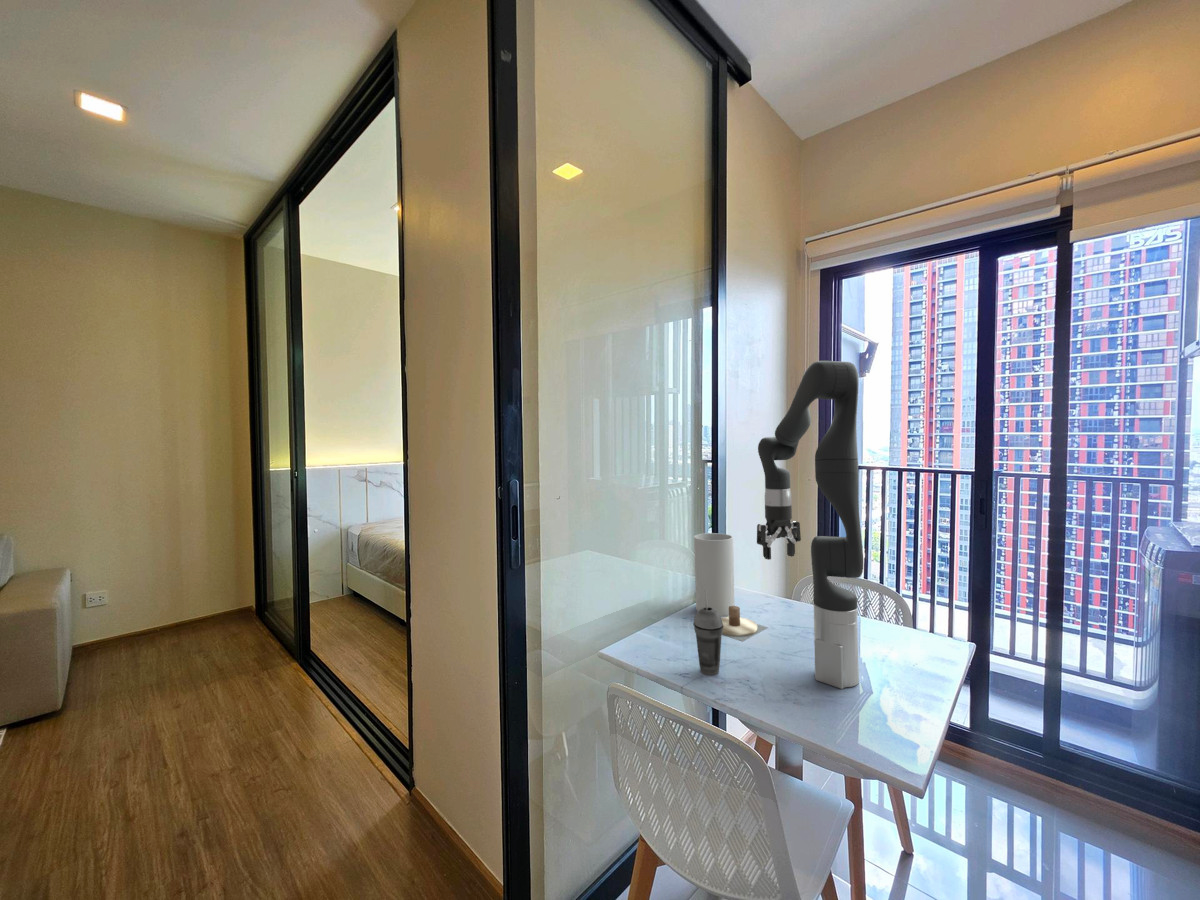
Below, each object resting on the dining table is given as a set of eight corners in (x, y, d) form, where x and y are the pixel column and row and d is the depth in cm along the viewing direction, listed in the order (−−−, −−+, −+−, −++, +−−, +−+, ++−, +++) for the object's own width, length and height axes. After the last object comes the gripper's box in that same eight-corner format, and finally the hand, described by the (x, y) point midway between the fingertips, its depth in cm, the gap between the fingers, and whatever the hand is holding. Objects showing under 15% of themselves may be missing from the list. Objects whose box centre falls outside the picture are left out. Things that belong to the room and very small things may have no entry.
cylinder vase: (711, 602, 167) (709, 531, 166) (742, 611, 157) (740, 536, 157) (688, 611, 159) (686, 536, 159) (719, 621, 149) (717, 542, 149)
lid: (742, 640, 133) (741, 618, 133) (703, 627, 143) (703, 608, 143) (765, 627, 142) (765, 607, 142) (728, 616, 151) (727, 597, 151)
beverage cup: (703, 680, 112) (700, 596, 112) (689, 667, 119) (687, 587, 119) (730, 675, 114) (728, 592, 114) (715, 662, 121) (713, 584, 121)
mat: (742, 643, 132) (742, 641, 132) (701, 629, 143) (701, 627, 143) (768, 629, 142) (768, 627, 142) (727, 617, 152) (727, 615, 152)
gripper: (767, 506, 136) (768, 563, 136) (806, 503, 141) (807, 557, 141) (750, 503, 143) (751, 557, 143) (788, 500, 148) (789, 552, 148)
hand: (779, 557), depth 142 cm, fingers open, 8 cm apart
